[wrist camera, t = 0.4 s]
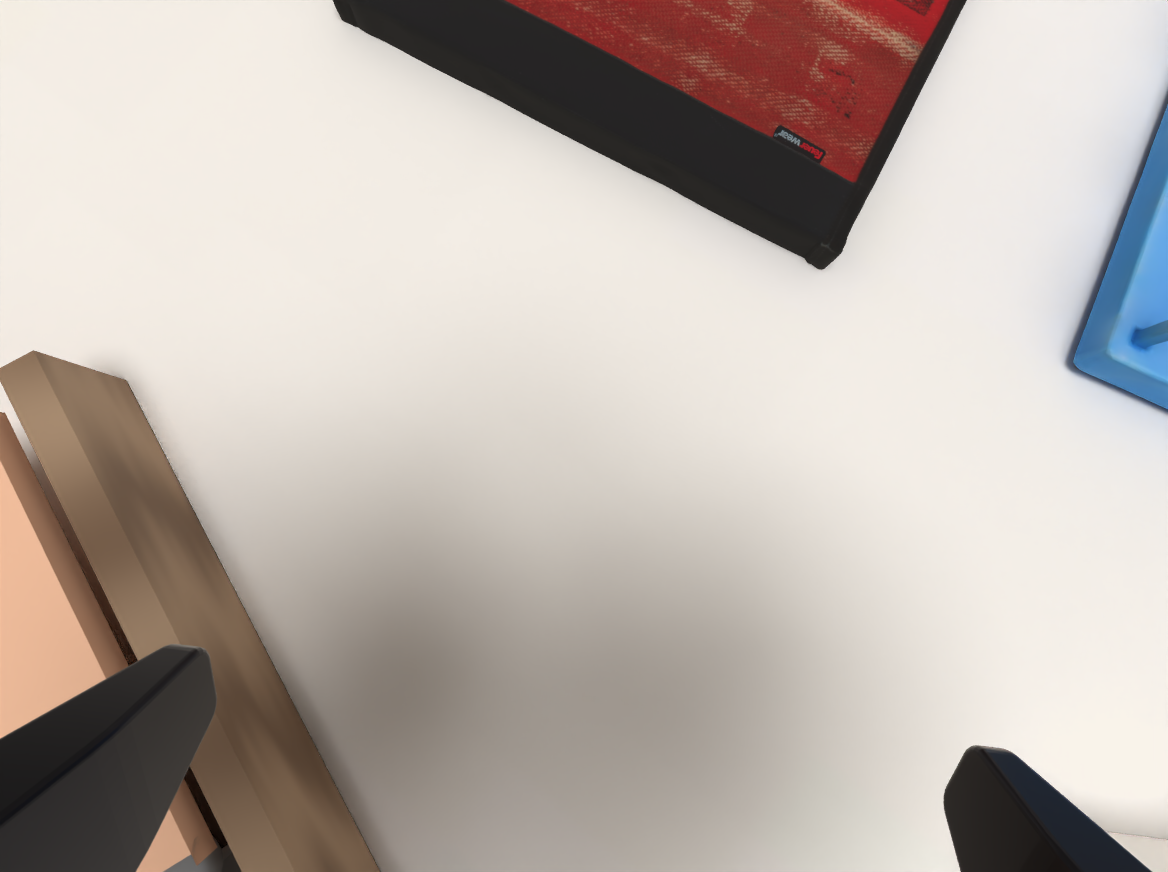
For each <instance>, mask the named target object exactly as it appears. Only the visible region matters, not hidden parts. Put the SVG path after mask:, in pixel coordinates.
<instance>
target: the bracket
mask: <svg viewBox="0 0 1168 872" xmlns="http://www.w3.org/2000/svg"><path fill="white" fill-rule="evenodd" d="M1105 832H1106V831H1105ZM1106 833H1108V834H1109V835H1110V836H1111V837H1112V838H1113V839H1115V840H1116V841H1117V842H1118V843H1119V844H1120V845H1122V846H1123V847H1124V848H1125V849H1126V850H1127V851H1129V852H1130V853H1131V854H1132V855H1133V856H1134V857H1136V858H1137V859H1138V860H1139V861H1140V862H1141V863H1143V864H1144V865H1145V866H1146V867H1147V868H1148V869H1150V870H1151V871H1152V872H1168V840H1167V839H1160V838H1152V837H1144V836H1137V835H1129V834H1122V833H1114V832H1106Z"/></svg>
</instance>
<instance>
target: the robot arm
mask: <svg viewBox="0 0 1168 872" xmlns="http://www.w3.org/2000/svg"><path fill="white" fill-rule="evenodd" d="M216 705H217V693H216V688H215V682H214V677H213V671H212V666H211V660H210V656H209V653H208V652H207V651H206V649H205V648H202V647H197V646H189V645H181V644H169V645H166V646H164V647H162V648H160V649H158V650H156V651H154V652H153V653H151V654H149V655H147V656H145V657H144V658H142V659H140V660H138V661H137V662H135V663H133V664H131V665H129V666H128V667H126V668H124V669H122V670H121V671H119V672H117V673H115V674H114V675H112V676H110V677H108V678H106V679H105V680H103V681H101V682H99V683H98V684H96V685H94V686H92V687H90V688H89V689H87V690H85V691H83V692H82V693H80V694H78V695H76V696H74V697H73V698H71V699H69V700H67V701H66V702H64V703H62V704H60V705H59V706H57V707H55V708H53V709H51V710H50V711H48V712H46V713H44V714H43V715H41V716H39V717H37V718H35V719H34V720H32V721H30V722H28V723H27V724H25V725H23V726H21V727H20V728H18V729H16V730H14V731H12V732H11V733H9V734H7V735H5V736H4V737H2V738H0V872H136V871H137V869H138V867H139V866H140V864H141V862H142V860H143V859H144V857H145V855H146V853H147V852H148V850H149V848H150V846H151V844H152V842H153V840H154V838H155V836H156V834H157V832H158V830H159V828H160V826H161V824H162V822H163V820H164V818H165V816H166V814H167V812H168V810H169V808H170V806H171V803H172V801H173V799H174V797H175V795H176V793H177V791H178V789H179V787H180V785H181V783H182V781H183V779H184V777H185V775H186V772H187V770H188V768H189V766H190V764H191V762H192V760H193V758H194V756H195V754H196V752H197V750H198V748H199V746H200V744H201V741H202V739H203V737H204V735H205V733H206V731H207V729H208V727H209V725H210V723H211V721H212V718H213V716H214V713H215V710H216ZM944 810H945V815H946V819H947V822H948V826H949V830H950V834H951V837H952V841H953V845H954V848H955V852H956V856H957V860H958V863H959V867H960V871H961V872H1152V871H1151V870H1150V869H1148V868H1147V867H1146V866H1145V865H1144V864H1143V863H1141V862H1140V861H1139V860H1138V859H1137V858H1136V857H1134V856H1133V855H1132V854H1131V853H1130V852H1129V851H1127V850H1126V849H1125V848H1124V847H1123V846H1122V845H1120V844H1119V843H1118V842H1117V841H1116V840H1115V839H1113V838H1112V837H1111V836H1110V835H1109V834H1108V833H1106V832H1105V831H1104V830H1103V829H1102V828H1101V827H1099V826H1098V825H1097V824H1096V823H1095V822H1094V821H1092V820H1091V819H1090V818H1089V817H1088V816H1086V815H1085V814H1084V813H1083V812H1082V811H1081V810H1079V809H1078V808H1077V807H1076V806H1075V805H1074V804H1072V803H1071V802H1070V801H1069V800H1068V799H1067V798H1065V797H1064V796H1063V795H1062V794H1061V793H1060V792H1058V791H1057V790H1056V789H1055V788H1054V787H1053V786H1051V785H1050V784H1049V783H1048V782H1047V781H1046V780H1044V779H1043V778H1042V777H1041V776H1040V775H1039V774H1037V773H1036V772H1035V771H1034V770H1033V769H1032V768H1030V767H1029V766H1028V765H1027V764H1026V763H1025V762H1023V761H1022V760H1021V759H1020V758H1019V757H1017V756H1016V755H1015V754H1014V753H1012V752H1010V751H1008V750H1006V749H1002V748H994V747H987V746H979V745H975V746H971V747H970V748H968V749H967V750H966V751H965V753H964V754H963V756H962V758H961V760H960V762H959V764H958V766H957V768H956V769H955V771H954V773H953V775H952V777H951V779H950V781H949V783H948V784H947V786H946V789H945V793H944Z"/></svg>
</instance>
